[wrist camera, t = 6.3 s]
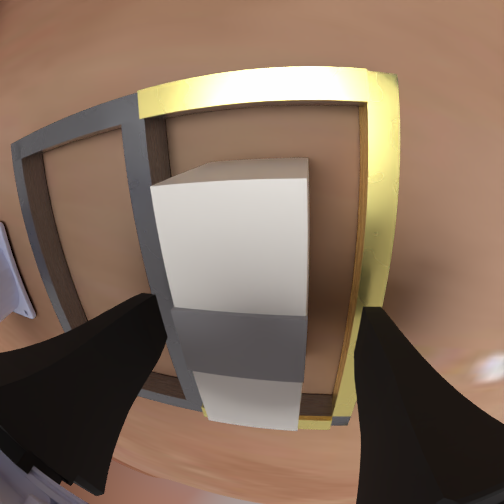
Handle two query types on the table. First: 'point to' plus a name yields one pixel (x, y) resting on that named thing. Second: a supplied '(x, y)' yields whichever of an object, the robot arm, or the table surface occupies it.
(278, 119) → the table surface
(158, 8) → the table surface
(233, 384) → the white banded pillar
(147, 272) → the rack
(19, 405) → the robot arm
